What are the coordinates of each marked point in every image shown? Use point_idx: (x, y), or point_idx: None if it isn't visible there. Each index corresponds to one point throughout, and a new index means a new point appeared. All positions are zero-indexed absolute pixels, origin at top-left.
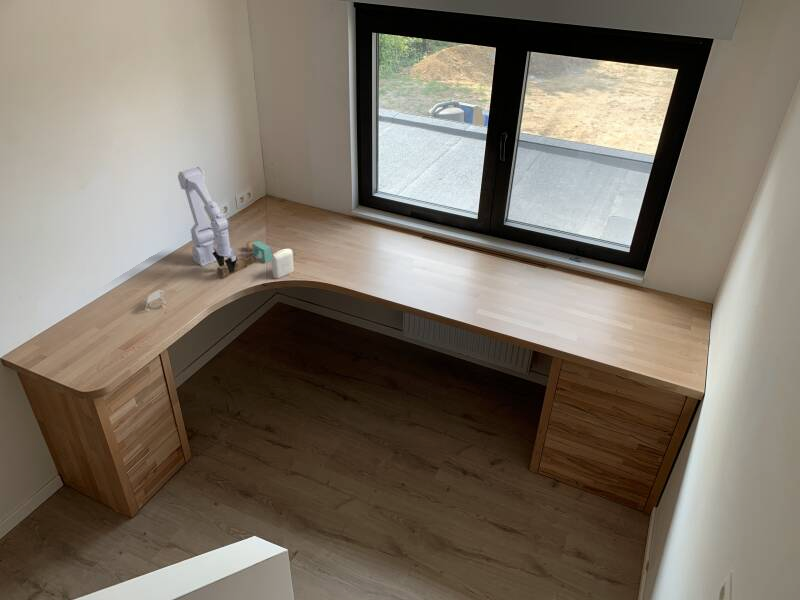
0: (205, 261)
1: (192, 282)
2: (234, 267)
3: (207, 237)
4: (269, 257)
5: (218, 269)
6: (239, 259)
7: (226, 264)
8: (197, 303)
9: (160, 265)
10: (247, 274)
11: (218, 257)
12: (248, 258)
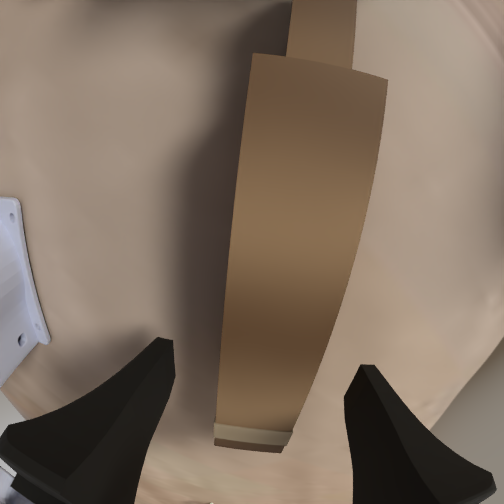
0: (21, 319)
1: (181, 454)
2: (399, 398)
3: None
4: None
5: (242, 446)
6: (273, 154)
7: (228, 380)
8: (334, 492)
9: (3, 386)
10: (445, 227)
11: (132, 475)
12: (335, 7)
